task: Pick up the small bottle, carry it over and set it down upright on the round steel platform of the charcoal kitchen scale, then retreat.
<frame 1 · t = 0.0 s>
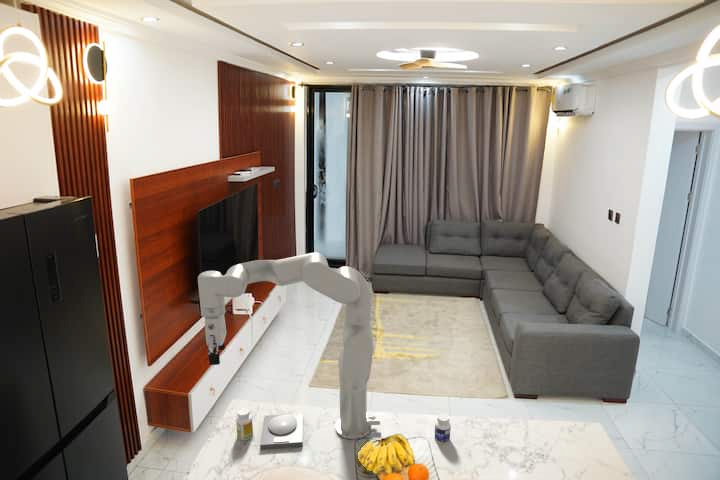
hand: (217, 356, 163), 31 cm above the countertop, fingers open, 9 cm apart
supplement bottle: (245, 436, 172), on the countertop
scale: (282, 433, 174), on the countertop
pill bottle: (442, 439, 170), on the countertop
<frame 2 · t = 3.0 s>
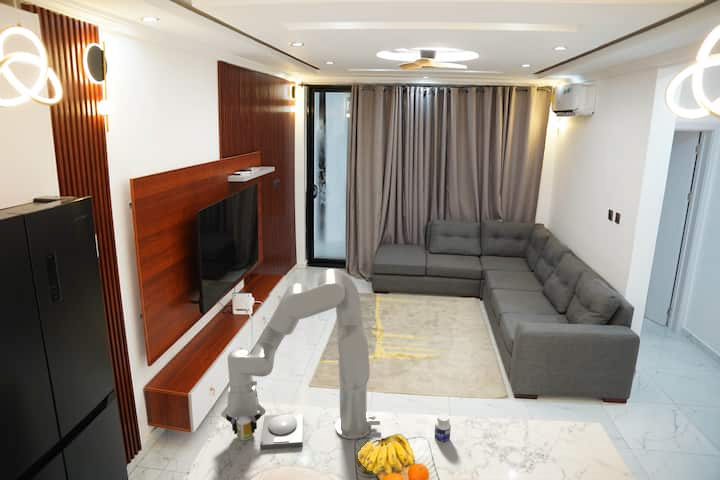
hand: (244, 430, 172), 2 cm above the countertop, fingers closed on supplement bottle, 5 cm apart
supplement bottle: (245, 436, 172), on the countertop, touching gripper
everything else where it was.
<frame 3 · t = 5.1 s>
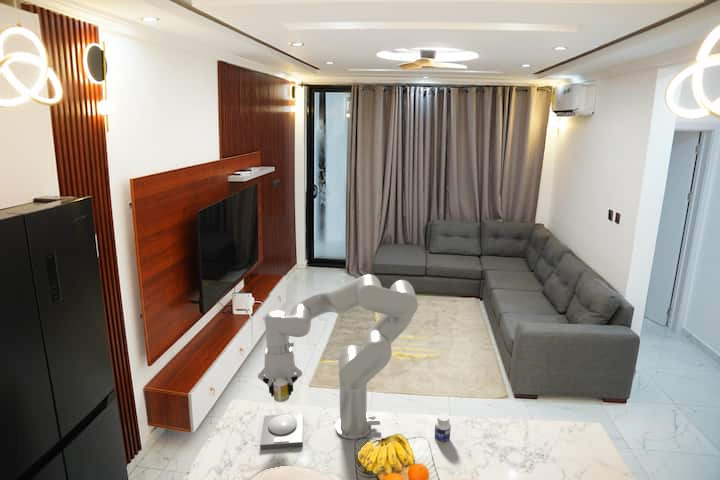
hand: (281, 393, 171), 15 cm above the countertop, fingers closed on supplement bottle, 5 cm apart
supplement bottle: (281, 398, 171), point 13 cm above the countertop, touching gripper
everything else where it was.
when the fingers open (6 cm above the countertop, at t = 7.2 s): supplement bottle drops 1 cm, resting on scale.
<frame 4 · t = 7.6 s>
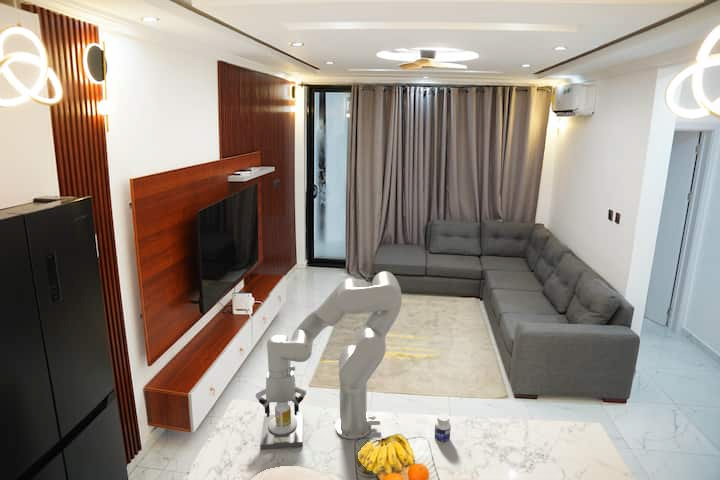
hand: (282, 413, 173), 7 cm above the countertop, fingers open, 9 cm apart
supplement bottle: (283, 424, 174), point 3 cm above the countertop, touching scale
everything else where it was.
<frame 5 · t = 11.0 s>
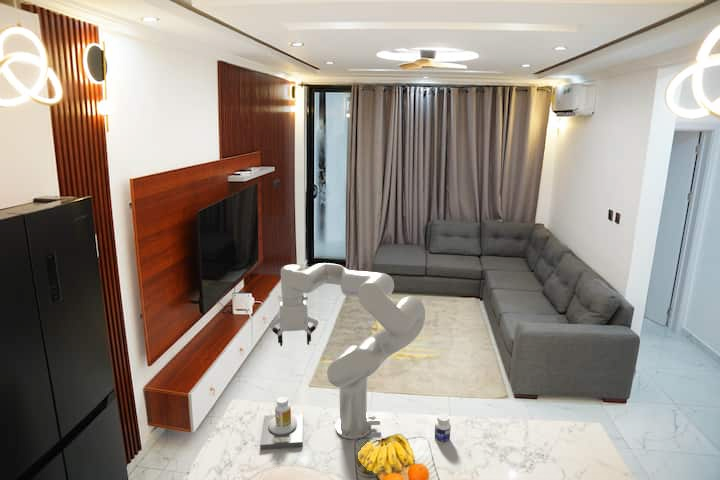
hand: (294, 343, 178), 28 cm above the countertop, fingers open, 9 cm apart
nothing on the countertop moved.
at the end: supplement bottle touching scale; supplement bottle tilted 0° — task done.
